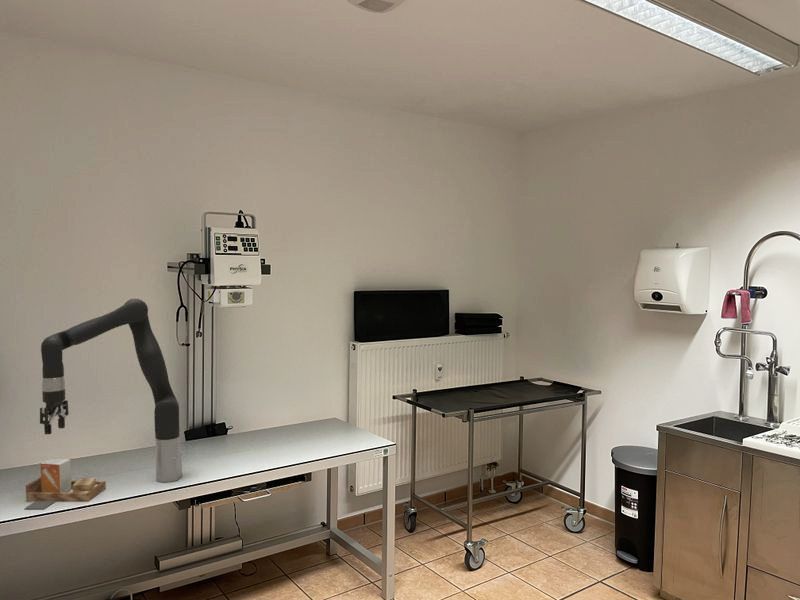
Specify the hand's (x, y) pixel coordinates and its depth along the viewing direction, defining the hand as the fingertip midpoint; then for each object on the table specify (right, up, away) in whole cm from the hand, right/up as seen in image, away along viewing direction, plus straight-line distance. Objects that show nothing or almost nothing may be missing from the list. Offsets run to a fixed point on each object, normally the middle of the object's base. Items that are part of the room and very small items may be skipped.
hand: (55, 431), depth 229 cm
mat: (0, -25, -10) cm, 27 cm away
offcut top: (+11, -22, 0) cm, 24 cm away
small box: (+1, -25, 0) cm, 25 cm away
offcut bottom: (+11, -25, 0) cm, 27 cm away
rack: (+5, -24, 0) cm, 25 cm away
